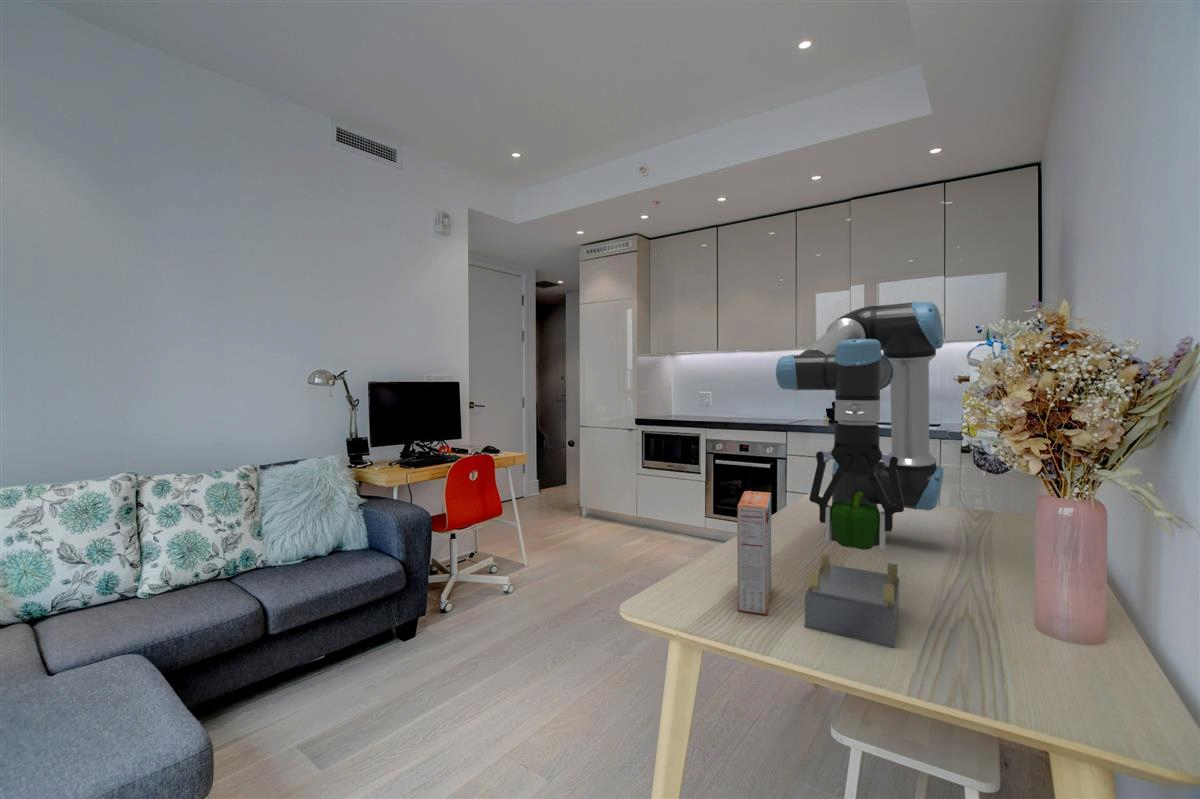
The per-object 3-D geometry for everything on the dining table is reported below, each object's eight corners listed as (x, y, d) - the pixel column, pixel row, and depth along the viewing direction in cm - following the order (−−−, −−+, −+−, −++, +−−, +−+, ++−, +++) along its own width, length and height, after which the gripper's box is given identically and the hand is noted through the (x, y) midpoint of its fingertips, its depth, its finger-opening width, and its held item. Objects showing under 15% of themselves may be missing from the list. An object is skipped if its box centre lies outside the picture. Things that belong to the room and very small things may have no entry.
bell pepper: (858, 555, 93) (859, 499, 92) (821, 542, 100) (822, 490, 100) (891, 550, 96) (892, 495, 96) (853, 537, 104) (854, 487, 103)
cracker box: (742, 585, 114) (743, 489, 114) (771, 589, 112) (773, 491, 111) (734, 611, 101) (735, 503, 100) (767, 616, 99) (769, 506, 98)
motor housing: (824, 588, 113) (824, 545, 112) (899, 602, 105) (900, 557, 105) (804, 626, 95) (805, 576, 95) (893, 647, 87) (894, 592, 87)
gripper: (792, 422, 100) (791, 540, 101) (923, 427, 89) (920, 560, 89) (800, 419, 106) (799, 530, 107) (924, 424, 95) (921, 548, 96)
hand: (854, 544), depth 98 cm, fingers closed on bell pepper, 8 cm apart
